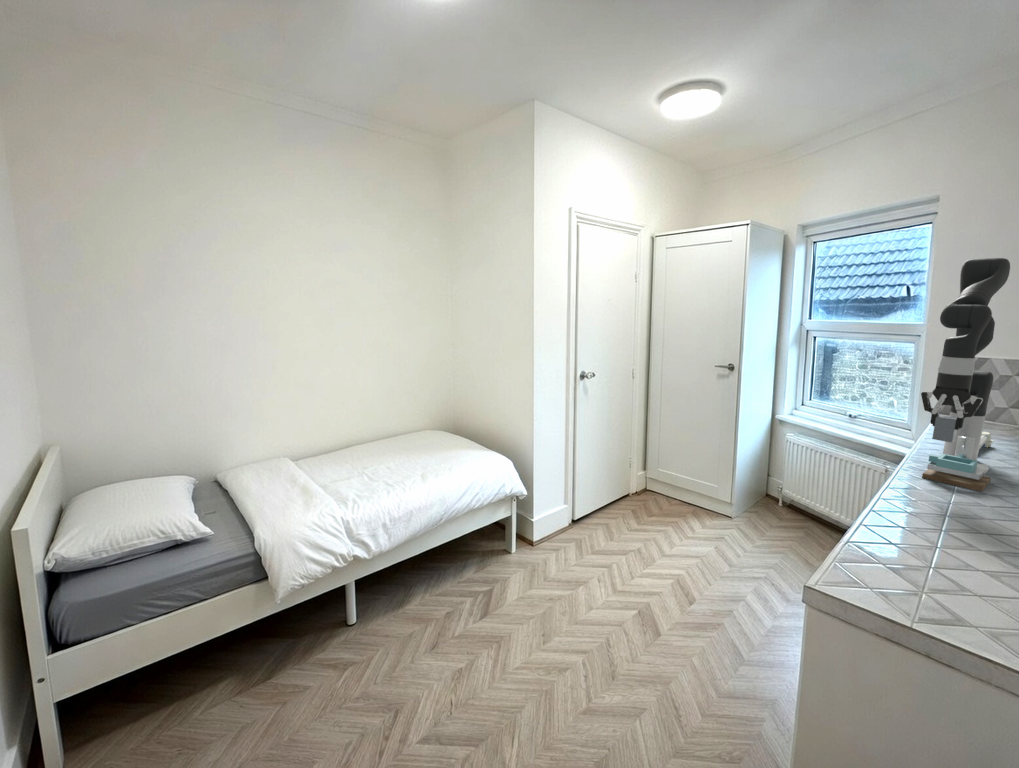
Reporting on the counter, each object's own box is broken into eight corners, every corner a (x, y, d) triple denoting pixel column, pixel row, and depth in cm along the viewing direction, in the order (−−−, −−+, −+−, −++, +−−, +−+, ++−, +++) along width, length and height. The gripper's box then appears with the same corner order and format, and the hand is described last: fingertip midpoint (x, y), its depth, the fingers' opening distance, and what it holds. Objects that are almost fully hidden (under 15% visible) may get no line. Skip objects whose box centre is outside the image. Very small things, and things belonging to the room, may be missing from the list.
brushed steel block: (935, 437, 144) (939, 415, 143) (955, 440, 140) (959, 418, 139) (932, 439, 142) (936, 416, 140) (952, 442, 138) (956, 419, 137)
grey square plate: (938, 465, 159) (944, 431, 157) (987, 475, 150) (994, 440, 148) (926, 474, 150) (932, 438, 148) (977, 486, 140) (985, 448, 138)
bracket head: (932, 459, 155) (933, 452, 154) (976, 468, 146) (977, 460, 146) (925, 463, 150) (926, 456, 149) (970, 473, 141) (972, 465, 141)
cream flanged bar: (960, 444, 178) (978, 427, 192) (957, 460, 180) (975, 442, 193) (978, 447, 174) (996, 430, 187) (976, 463, 176) (993, 445, 189)
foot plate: (932, 469, 159) (933, 465, 159) (990, 481, 148) (991, 477, 148) (921, 477, 151) (922, 473, 151) (981, 491, 140) (982, 486, 140)
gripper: (991, 374, 134) (980, 431, 137) (927, 368, 145) (918, 421, 148) (987, 376, 130) (975, 435, 132) (920, 370, 141) (911, 424, 144)
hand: (945, 427), depth 140 cm, fingers closed on brushed steel block, 4 cm apart
